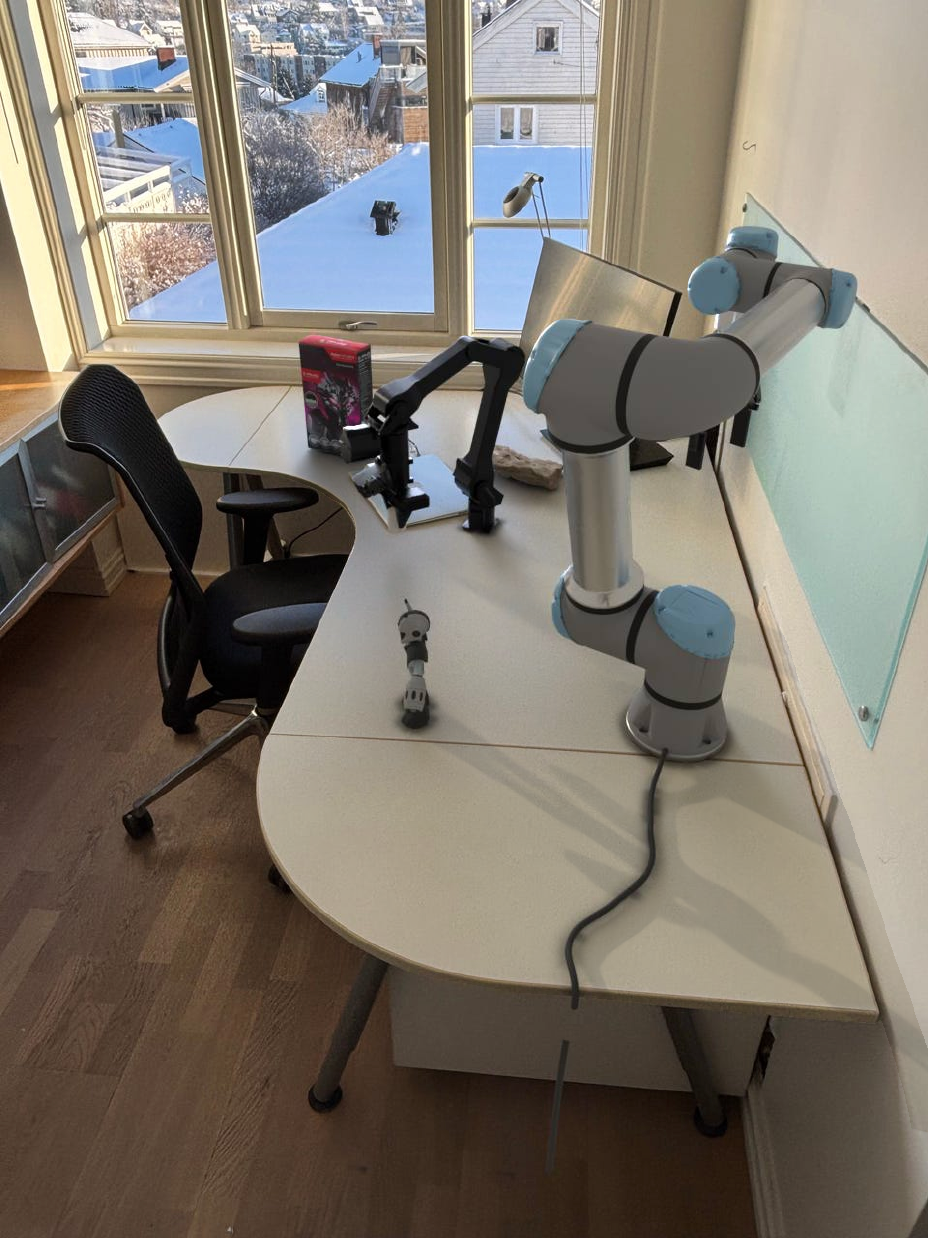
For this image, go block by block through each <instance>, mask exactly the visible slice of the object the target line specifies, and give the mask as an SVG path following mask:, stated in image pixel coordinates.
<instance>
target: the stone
mask: <svg viewBox="0 0 928 1238" xmlns="http://www.w3.org/2000/svg"><path fill="white" fill-rule="evenodd" d="M492 461H493V467H494V472H497V473H499V474H500V475H501V477H504V478H506V479H509V478H511V477H512V478H513V479H515V480H518V481H520V482H524V483H526V484H528V485H532V486H541V487H543V488H545V489H547V490H554V489H555V488H556V486H557V484H558V479H559V477H560V476H561V474H562V472H563V463H562V464H561V463H559V462H557V461H553V460H550V459H540V458H537V457H536V458H535V457H529V456H526V455H523V453H519V452H517V451H516V450H515V449H511V448H510V447H509V446H505V445H500V444H495V448H494V452H493V456H492Z"/></svg>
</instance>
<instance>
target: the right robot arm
mask: <svg viewBox="0 0 928 1238" xmlns="http://www.w3.org/2000/svg"><path fill="white" fill-rule="evenodd" d="M779 240H780V239H779V234H778V232H777V231H776V230H775V229H772V228H770V227H765V226H759V225H758V226H757V225H742V226H737V227H733V228H732V229H730V231H729V232H728V235H727V240H726V243H725V244H724V248H725V250H724V251H723V252H722V253H719V254H717V255H715V256H711V257H710V258H707V259H706V260H704V261H703V262H702V263H701V264H700V265H698V266H697V267H696V268H695V269H694V270H693V272H692V273H691V275H690V277H689V280H688V282H687V297H688V299H689V302H690V303H691V305H692V306H693V307H694V308H695V310H696V311H698V312H700V313H701V314H704V315H707V316H715V317H714V323H713V328H714V329H715V330H714V331H713V332H711V333H707V334H705V335H703V336H701V337H699V338H698V339H683V338H676V337H670V336H665V335H659V334H653V333H648V332H643V331H637V330H633V329H627V328H621V327H616V326H612V325H611V326H610V325H605V324H601V323H596V322H593V320H591V319H585V320H580V319H573V318H560V319H558V320H555V321H553V322H552V323H551V324H550V325H549V326H548V327H546V328H545V330H544V331H543V332H542V333H541V334H540V335H539V337H538V339H537V340H536V342H535V344H534V346H533V348H532V350H531V352H530V355H529V357H528V359H527V362H526V364H525V365H526V366H525V368H524V374H523V378H522V379H523V380H522V400H523V403H524V405H525V407H526V408H527V409H528V410H530V411H532V412H533V413H534V414H535V415H541V414H542V415H544V417H545V424H546V431H547V438H548V439H549V441H550V442H551V444H552V445H553V446H554V447H556V448H557V449H559V450H560V451H561V461H562V465H563V470H562V472H563V478H564V479H563V480H564V481H563V482H564V491H565V503H566V510H567V511H566V512H567V520H568V529H569V540H570V541H569V542H570V549H571V551H570V552H571V560H572V563H571V564H570V565H569V566H568V568H567V569H565V570H564V571H563V573H562V574H561V576H560V577H559V578H558V580H557V582H556V585H555V587H554V590H553V594H552V596H553V600H552V601H551V605H550V606H551V609H550V610H551V612H550V613H551V620H552V623H553V626H554V628H555V630H556V631H557V632H558V633H559V635H560V636H562V637H563V638H566V639H567V640H570V641H571V642H573V643H574V644H576V645H579V646H581V647H585V648H589V649H591V650H593V651H597V652H598V653H601V654H604V655H607V656H610V657H612V658H615V659H618V660H621V661H623V662H626V663H628V664H631V665H633V666H636V667H639V668H642V669H644V677H643V682H642V684H641V685H640V688H639V689H638V691H637V692H636V694H635V695H634V697H633V699H632V701H631V702H630V704H629V706H628V708H627V713H626V719H625V728H626V732H627V734H628V736H629V738H630V739H631V741H632V742H634V744H636V745H637V746H638V747H639V748H640V749H641V750H643V751H645V752H646V753H648V754H650V755H651V756H654V757H656V758H659V760H658V763H657V766H656V768H655V771H654V774H653V776H652V780H651V782H650V786H649V791H648V797H647V822H646V823H647V824H646V825H647V826H646V827H647V828H646V829H647V831H646V832H647V840H648V849H649V850H648V851H649V855H648V861H647V864H646V868H645V869H644V871H643V873H641V875H640V876H639V877H638V878H637V879H636V880H635V882H633V883H632V884H630V886H628V887H627V888H626V889H625V890H623V891H622V892H621V893H619V894H618V895H617V896H616V897H614V899H612V900H611V901H610V902H608V903H607V904H606V905H605V906H603V907H601V908H599V909H598V910H596V911H595V912H593V913H591V914H589V915H588V916H586V917H585V918H583V919H582V920H581V921H579V922H578V923H577V924H576V925H575V926H574V927H573V928H572V930H571V931H570V933H569V934H568V937H567V938H566V942H565V946H564V958H565V963H566V966H567V970H568V973H569V978H570V984H571V997H570V999H571V1000H570V1009H572V1010H573V1011H576V1010H577V1009H578V1008H579V1003H580V1002H579V1001H580V986H579V985H580V984H579V983H580V982H579V978H578V973H577V969H576V965H575V962H574V958H573V945H574V942H575V940H576V938H577V936H578V935H579V934H580V932H581V931H582V930H583V929H584V928H586V927H587V926H588V925H590V924H592V923H593V922H595V921H597V920H598V919H601V918H602V917H603V916H605V915H607V914H609V913H610V912H611V911H612V910H614V909H615V908H616V907H617V906H619V905H620V904H621V903H622V902H623V901H624V900H626V899H627V898H628V897H630V896H631V895H632V894H633V893H635V892H636V891H637V890H638V889H639V888H640V887H642V885H643V884H644V883H645V882H646V881H647V880H648V878H649V877H650V875H651V874H652V871H653V868H654V866H655V863H656V859H657V850H656V841H655V831H654V830H655V829H654V828H655V827H654V825H655V823H654V821H655V819H654V818H655V817H654V816H655V815H654V814H655V811H654V810H655V796H656V795H655V794H656V789H657V785H658V781H659V779H660V776H661V773H662V770H663V769H664V765H665V762H666V761H670V762H675V763H694V762H700V761H703V760H706V759H709V758H711V757H714V755H716V754H718V752H720V751H721V750H722V748H723V747H724V744H725V743H726V740H727V739H726V738H727V733H728V721H727V716H726V712H725V708H724V707H725V706H724V701H723V692H724V686H725V682H726V678H727V674H728V669H729V664H730V659H731V654H732V652H733V649H734V646H735V645H734V644H735V631H736V617H735V615H734V613H733V611H732V610H731V608H730V606H729V604H728V603H727V602H726V601H725V600H724V599H722V598H721V596H718V595H717V594H715V593H714V592H712V591H710V590H707V589H706V588H703V587H700V586H696V585H692V584H686V585H684V586H683V585H682V584H671V585H669V586H666V587H664V588H662V589H661V590H657V589H656V588H652V587H648V586H646V585H645V575H644V571H643V569H642V567H641V565H640V564H639V563H638V562H637V560H635V559H634V558H633V557H634V556H633V554H634V553H633V528H632V527H633V526H632V523H633V522H632V497H631V467H630V465H631V464H630V444H631V443H632V442H633V441H634V440H635V438H637V439H639V440H640V439H641V440H646V441H669V440H677V439H681V438H686V437H688V444H687V451H686V458H685V465H684V466H685V467H688V468H691V469H693V470H697V471H701V470H702V469H703V468H702V467H703V462H704V456H705V449H706V444H707V439H708V438H707V437H708V432H707V430H709V429H712V428H715V427H717V426H718V425H720V424H722V423H724V422H727V421H728V420H730V419H731V418H733V421H732V427H731V432H730V438H729V444H731V445H733V446H736V447H738V448H742V449H743V448H745V447H746V444H747V438H748V433H749V430H750V429H749V428H750V423H751V417H752V414H753V413H752V412H753V411H754V412H758V410H759V409H760V404H761V402H762V389H761V380H762V379H763V378H764V377H765V376H766V375H767V374H768V373H769V372H770V371H772V369H773V368H775V367H776V365H778V364H779V362H780V361H782V360H783V359H784V358H785V357H786V356H787V355H788V354H789V353H790V352H791V351H792V350H793V349H795V347H796V346H798V344H800V342H802V340H804V339H805V338H806V337H807V336H808V335H809V334H810V333H811V332H812V331H813V330H815V328H816V327H818V328H820V329H823V330H824V329H832V330H833V329H835V330H838V329H839V330H840V329H841V328H842V327H844V326H845V325H846V324H847V322H848V320H849V318H850V316H851V314H852V311H853V308H854V305H855V301H856V298H857V293H858V278H857V277H856V275H855V274H854V273H852V272H849V271H844V270H839V269H835V268H834V267H830V268H827V267H821V266H812V265H807V264H806V265H804V264H798V263H791V262H783V261H777V258H778V248H779V247H778V245H779ZM570 1042H571V1041H570V1040H567V1039H562V1041H561V1047H560V1048H561V1049H560V1052H559V1059H558V1065H557V1073H556V1079H555V1086H554V1093H553V1101H552V1102H553V1103H552V1111H551V1118H550V1119H551V1120H550V1129H549V1138H548V1139H549V1141H548V1148H547V1157H546V1165H545V1166H546V1167H545V1172H546V1174H552V1172H553V1168H554V1161H555V1152H556V1151H555V1150H556V1143H557V1133H558V1125H559V1115H560V1109H561V1108H560V1107H561V1099H562V1092H563V1086H564V1085H563V1084H564V1078H565V1073H566V1066H567V1061H568V1055H569V1048H570Z"/></svg>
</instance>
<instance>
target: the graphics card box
mask: <svg viewBox="0 0 928 1238" xmlns="http://www.w3.org/2000/svg"><path fill="white" fill-rule="evenodd" d="M297 344H298V353H299V362H300V363H299V364H300V374H301V383H302V384H301V385H302V395H303V406H304V416H305V428H306V438H307V439H306V440H307V447H308V449H312V450H317V451H321V452H325V453H330V454H334V455H339V456H342V455H341V452H340V447H339V441H340V437H341V434H343V428H344V427H348V426H358V425H363V424H366V423H365V422H364V421H363V417H364V416H365V414H366V412H367V410H368V409H369V407H370V405H371V404H372V402H373V398H374V390H373V389H374V386H373V383H374V382H373V368H372V367H373V366H372V365H373V364H372V345H371V343H363V342H359V341H352V340H347V339H341V338H336V337H330V336H325V335H320V334H313V333H312V334H309V335H307V336H305V337H304V338H302V339H301V340H300V341H298V343H297Z"/></svg>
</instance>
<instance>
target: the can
mask: <svg viewBox="0 0 928 1238" xmlns="http://www.w3.org/2000/svg"><path fill="white" fill-rule="evenodd" d="M386 513H387V514H386V515H387V530H388V531H389V532H391V533H397V534H398V533H403V532H405V531H406V530H407V524H406V525H405V527H404V528H401V529H399V527H398V523H397V518H396V512H395V508H394V507H390V508H388V510H387V509H386Z"/></svg>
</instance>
